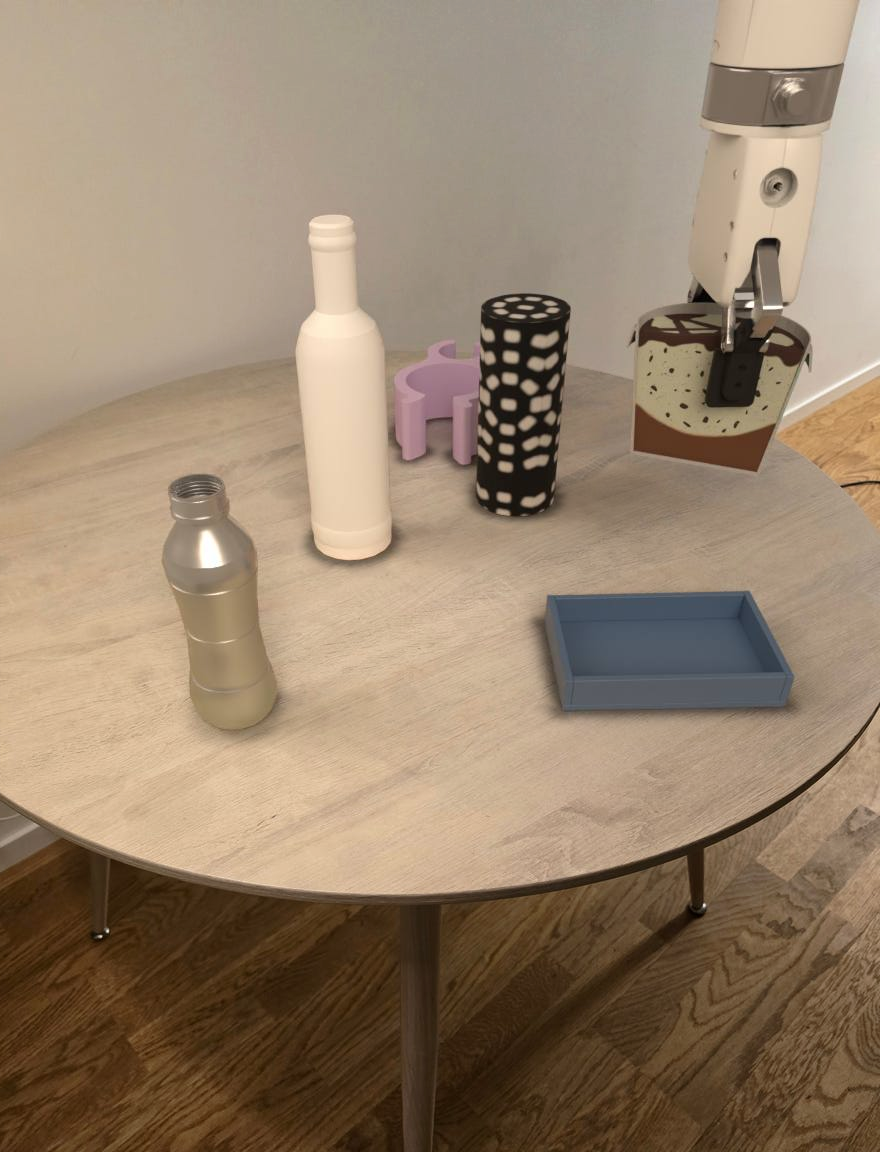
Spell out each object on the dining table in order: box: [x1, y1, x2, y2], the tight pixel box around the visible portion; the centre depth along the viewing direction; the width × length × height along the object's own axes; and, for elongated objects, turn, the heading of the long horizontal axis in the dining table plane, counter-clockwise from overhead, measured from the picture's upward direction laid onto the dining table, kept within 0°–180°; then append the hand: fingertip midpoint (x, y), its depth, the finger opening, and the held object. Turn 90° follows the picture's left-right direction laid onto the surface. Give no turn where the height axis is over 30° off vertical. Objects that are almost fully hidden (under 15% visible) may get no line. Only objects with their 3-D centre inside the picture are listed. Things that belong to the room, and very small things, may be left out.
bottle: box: [294, 214, 393, 561], centre depth 80 cm, size 8×8×30 cm
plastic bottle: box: [161, 473, 278, 731], centre depth 64 cm, size 6×7×20 cm
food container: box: [625, 302, 814, 477], centre depth 65 cm, size 12×6×10 cm, turn 66°
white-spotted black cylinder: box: [475, 292, 572, 517], centre depth 90 cm, size 8×8×20 cm
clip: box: [393, 339, 480, 466], centre depth 108 cm, size 20×12×7 cm, turn 167°
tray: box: [544, 590, 796, 712], centre depth 73 cm, size 17×11×3 cm, turn 90°
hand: (713, 380), depth 65 cm, fingers closed on food container, 7 cm apart
